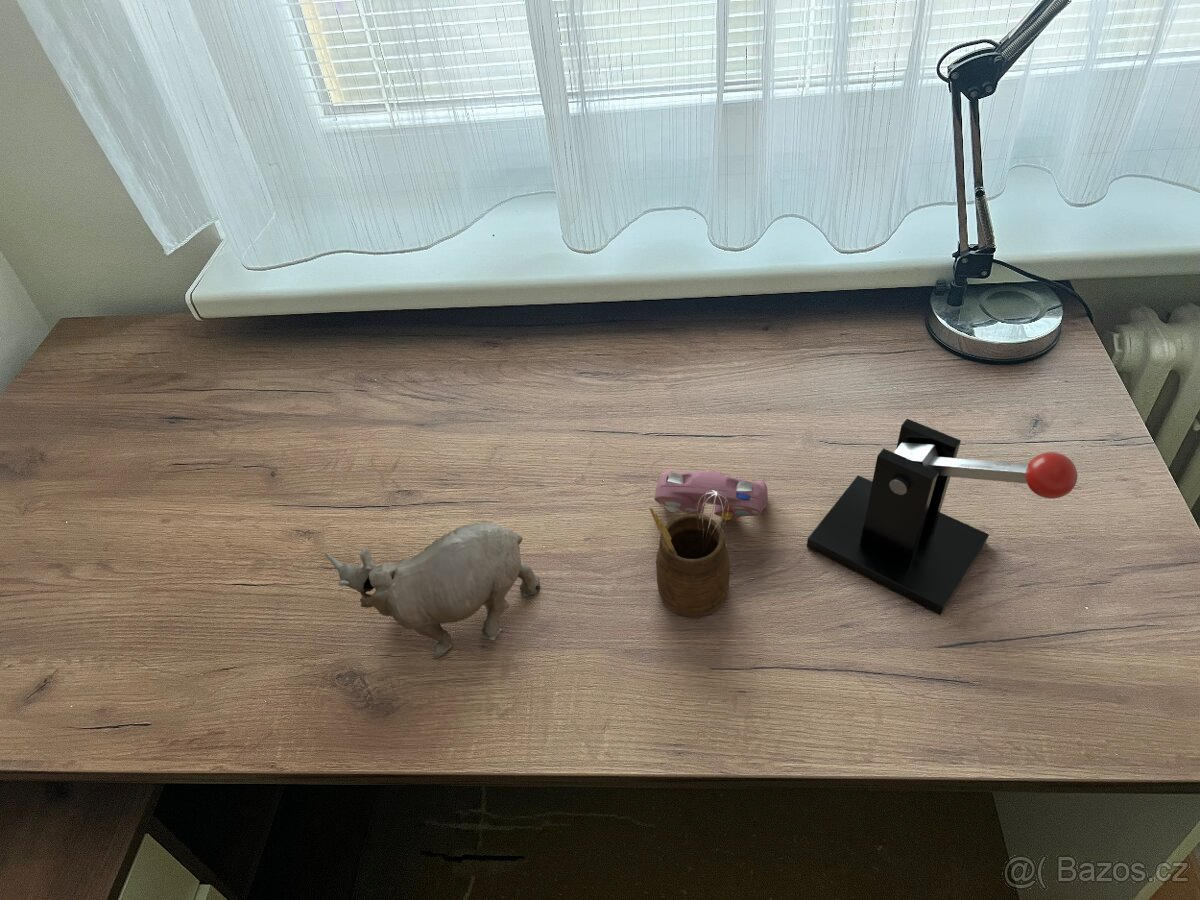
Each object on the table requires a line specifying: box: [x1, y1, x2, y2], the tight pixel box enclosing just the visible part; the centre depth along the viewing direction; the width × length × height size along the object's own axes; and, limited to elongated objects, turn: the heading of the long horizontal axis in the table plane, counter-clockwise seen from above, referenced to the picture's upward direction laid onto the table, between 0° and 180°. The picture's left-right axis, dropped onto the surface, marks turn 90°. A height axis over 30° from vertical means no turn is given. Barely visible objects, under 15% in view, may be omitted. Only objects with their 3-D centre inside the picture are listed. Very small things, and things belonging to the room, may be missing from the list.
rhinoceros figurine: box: [324, 522, 541, 659], centre depth 70 cm, size 8×14×15 cm
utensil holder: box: [648, 490, 731, 618], centre depth 69 cm, size 6×6×12 cm
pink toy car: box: [654, 469, 769, 521], centre depth 77 cm, size 10×5×7 cm
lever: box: [893, 443, 1078, 500], centre depth 64 cm, size 13×3×3 cm, turn 49°
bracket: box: [806, 418, 989, 616], centre depth 71 cm, size 12×9×12 cm
